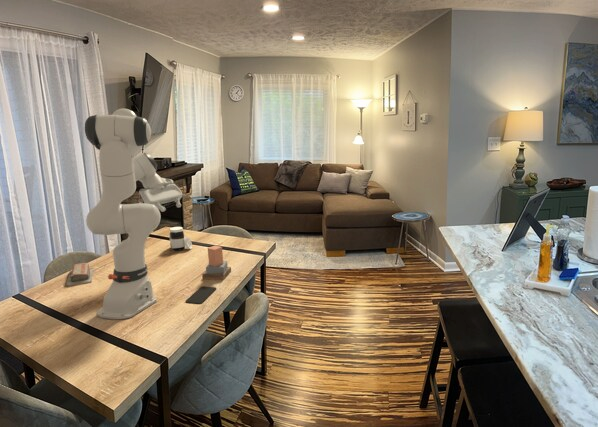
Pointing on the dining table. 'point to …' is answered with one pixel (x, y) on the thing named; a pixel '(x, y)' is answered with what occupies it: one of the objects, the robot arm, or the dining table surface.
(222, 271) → the slate slab
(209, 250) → the terracotta block
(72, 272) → the packaged product
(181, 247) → the spread jar
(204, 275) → the walnut slab
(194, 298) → the phone
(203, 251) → the dining table surface
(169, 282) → the dining table surface
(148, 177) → the robot arm
